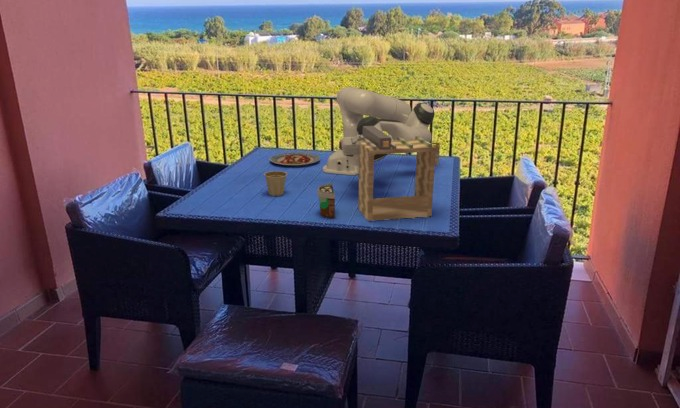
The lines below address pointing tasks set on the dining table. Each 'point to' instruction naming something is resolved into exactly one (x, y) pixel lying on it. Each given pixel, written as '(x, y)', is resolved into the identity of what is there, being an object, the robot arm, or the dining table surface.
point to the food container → (327, 200)
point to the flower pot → (275, 182)
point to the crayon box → (437, 153)
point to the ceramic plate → (294, 159)
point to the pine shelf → (397, 205)
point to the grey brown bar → (377, 137)
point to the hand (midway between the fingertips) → (371, 136)
